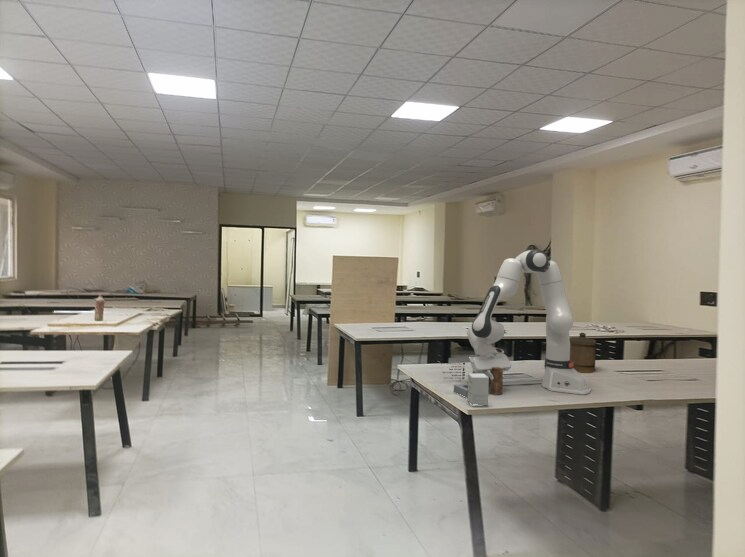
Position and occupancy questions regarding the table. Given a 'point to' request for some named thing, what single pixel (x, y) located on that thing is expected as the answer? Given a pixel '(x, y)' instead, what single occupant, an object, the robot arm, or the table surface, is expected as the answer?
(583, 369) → the wooden container
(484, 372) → the robot arm
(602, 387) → the table surface
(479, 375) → the supplement box
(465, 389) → the slate socket
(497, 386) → the walnut peg
